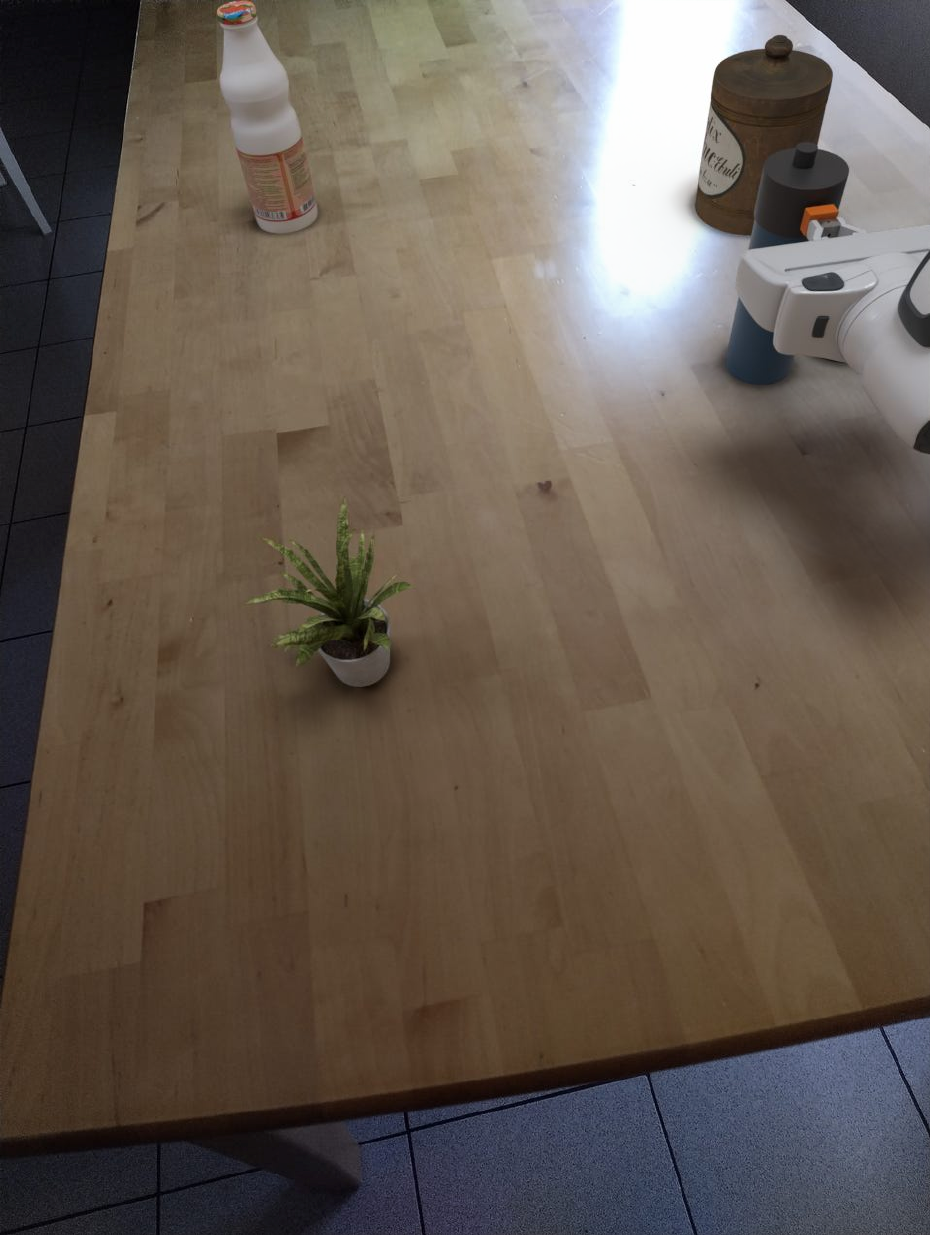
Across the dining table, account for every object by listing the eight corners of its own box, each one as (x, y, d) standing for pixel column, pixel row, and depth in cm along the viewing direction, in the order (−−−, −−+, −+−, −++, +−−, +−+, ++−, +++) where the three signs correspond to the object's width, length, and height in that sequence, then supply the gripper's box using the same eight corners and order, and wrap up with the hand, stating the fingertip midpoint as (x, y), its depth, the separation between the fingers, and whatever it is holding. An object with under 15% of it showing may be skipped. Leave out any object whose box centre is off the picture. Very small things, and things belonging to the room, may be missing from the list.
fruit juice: (265, 244, 128) (205, 29, 105) (252, 213, 133) (192, 2, 111) (326, 227, 129) (280, 12, 107) (310, 198, 135) (263, -13, 112)
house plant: (289, 604, 88) (245, 491, 75) (425, 590, 88) (404, 475, 75) (282, 728, 80) (230, 625, 66) (431, 713, 79) (409, 607, 66)
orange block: (833, 233, 84) (839, 211, 82) (804, 237, 84) (810, 215, 82) (827, 225, 85) (833, 203, 83) (799, 229, 85) (805, 207, 83)
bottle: (801, 384, 102) (867, 165, 81) (734, 394, 102) (783, 177, 81) (778, 343, 106) (835, 126, 86) (714, 352, 106) (755, 136, 86)
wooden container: (688, 186, 129) (711, 17, 111) (790, 181, 128) (831, 9, 110) (700, 242, 120) (727, 68, 102) (810, 237, 119) (857, 60, 101)
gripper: (1015, 259, 73) (940, 177, 81) (775, 293, 72) (724, 208, 80) (984, 324, 78) (917, 241, 86) (759, 356, 77) (714, 269, 85)
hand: (822, 225), depth 83 cm, fingers closed, pressing on orange block
